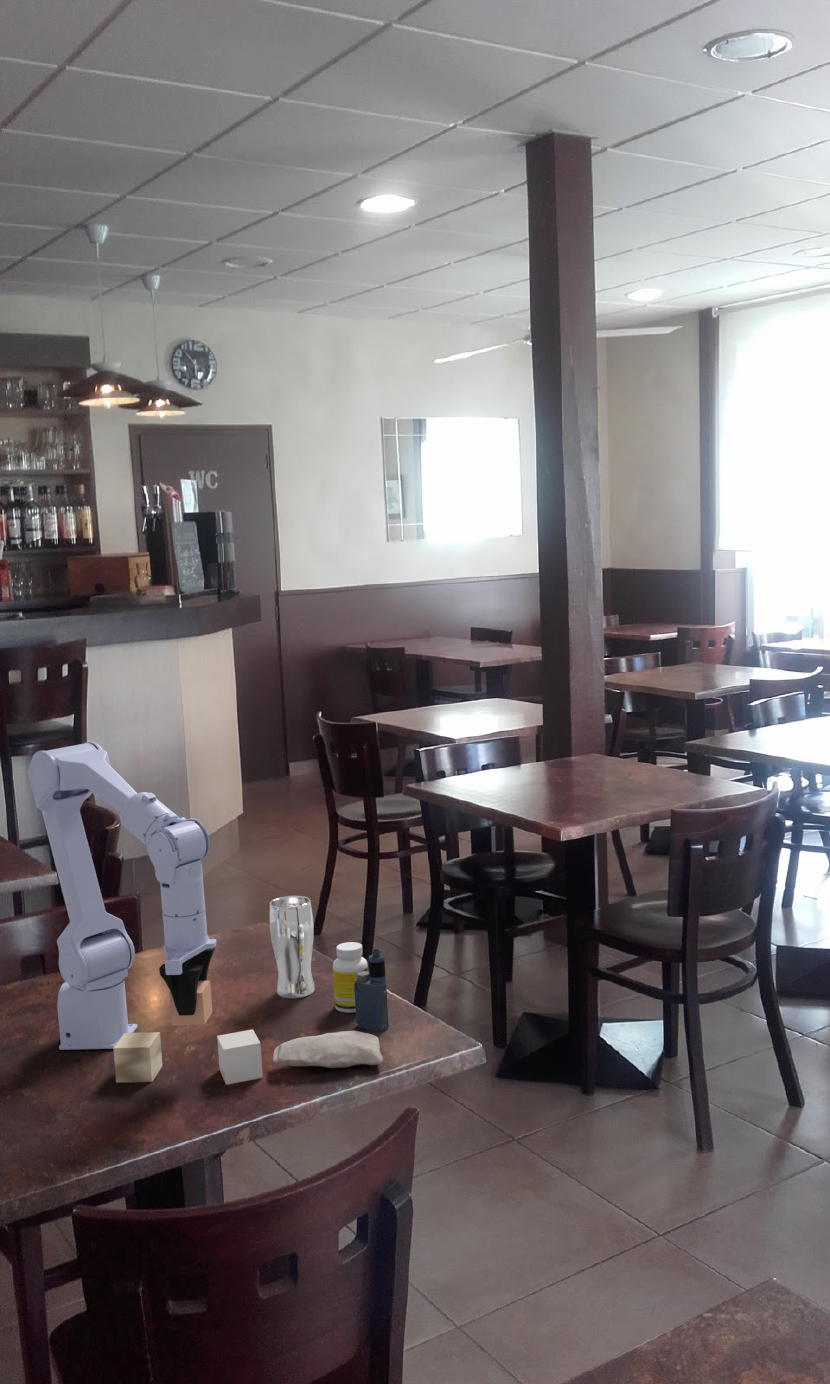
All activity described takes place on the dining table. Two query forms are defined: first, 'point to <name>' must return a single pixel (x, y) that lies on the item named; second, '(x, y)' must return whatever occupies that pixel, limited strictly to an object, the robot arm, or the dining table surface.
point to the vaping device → (372, 995)
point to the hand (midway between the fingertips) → (191, 1007)
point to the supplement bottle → (347, 975)
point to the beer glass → (292, 944)
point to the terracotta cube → (201, 1010)
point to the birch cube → (138, 1057)
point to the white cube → (239, 1056)
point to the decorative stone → (330, 1050)
